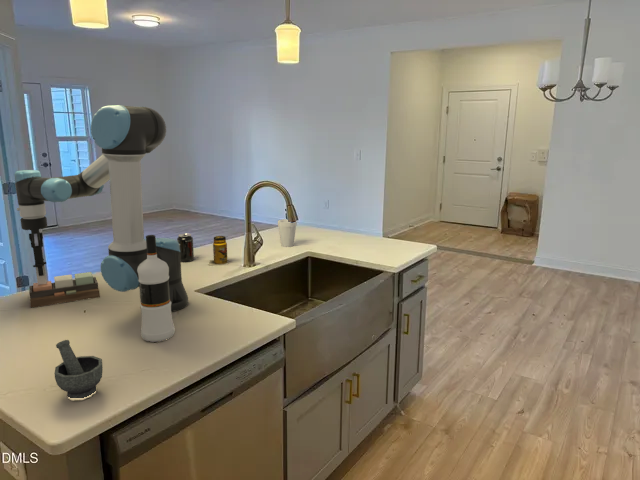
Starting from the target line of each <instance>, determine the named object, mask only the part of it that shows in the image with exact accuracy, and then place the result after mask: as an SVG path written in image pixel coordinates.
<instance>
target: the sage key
mask: <svg viewBox="0 0 640 480" xmlns="http://www.w3.org/2000/svg"><path fill="white" fill-rule="evenodd" d="M93 277H94V276H93V273H92V271H88V272H81V273H80V272H79V273H75V274H74V280H75V282H76V286H78V285H85V284H92V283H94V282H93Z"/></svg>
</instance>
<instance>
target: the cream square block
mask: <svg viewBox="0 0 640 480" xmlns="http://www.w3.org/2000/svg"><path fill="white" fill-rule="evenodd" d="M53 279H54V280H53V281H54V282H55V288H56V289H57V288H64V287H71V286H73V280H74V279H73V275H72V274H65V275H57V276H53Z"/></svg>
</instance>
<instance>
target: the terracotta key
mask: <svg viewBox="0 0 640 480" xmlns="http://www.w3.org/2000/svg"><path fill="white" fill-rule="evenodd" d="M52 283H53V281H52V280H47V284H42V285H38V282H34V283H33V284H32V286H33V291H34V292H36V291H43V290H50V289H52Z"/></svg>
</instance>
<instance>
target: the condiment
mask: <svg viewBox="0 0 640 480" xmlns="http://www.w3.org/2000/svg"><path fill="white" fill-rule="evenodd" d="M212 252H213V259H211V260H209V263H208V266H226V265H229V259H228V244H227V237H226V236H225V235H216V236H214V237H213V243H212Z"/></svg>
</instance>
